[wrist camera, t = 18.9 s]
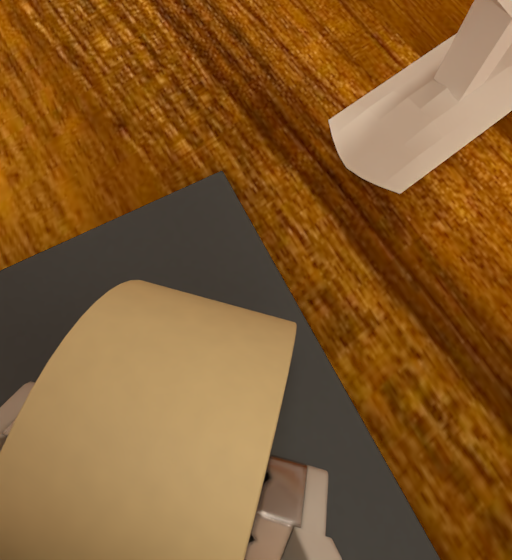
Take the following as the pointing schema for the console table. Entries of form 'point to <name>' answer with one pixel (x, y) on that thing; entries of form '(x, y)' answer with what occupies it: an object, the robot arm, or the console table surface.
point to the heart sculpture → (431, 103)
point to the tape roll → (146, 432)
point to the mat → (231, 290)
